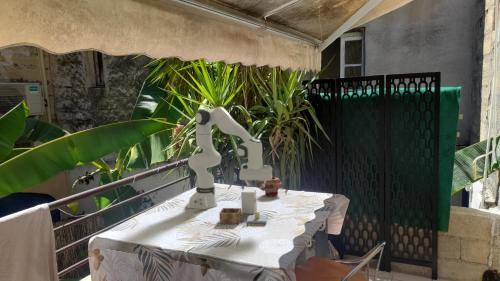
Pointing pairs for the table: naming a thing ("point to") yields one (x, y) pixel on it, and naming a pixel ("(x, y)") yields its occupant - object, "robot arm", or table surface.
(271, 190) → the decorative planter
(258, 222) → the lid
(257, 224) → the coaster
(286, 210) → the table surface
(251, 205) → the supplement box
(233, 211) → the walnut box
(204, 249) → the table surface
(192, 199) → the robot arm
